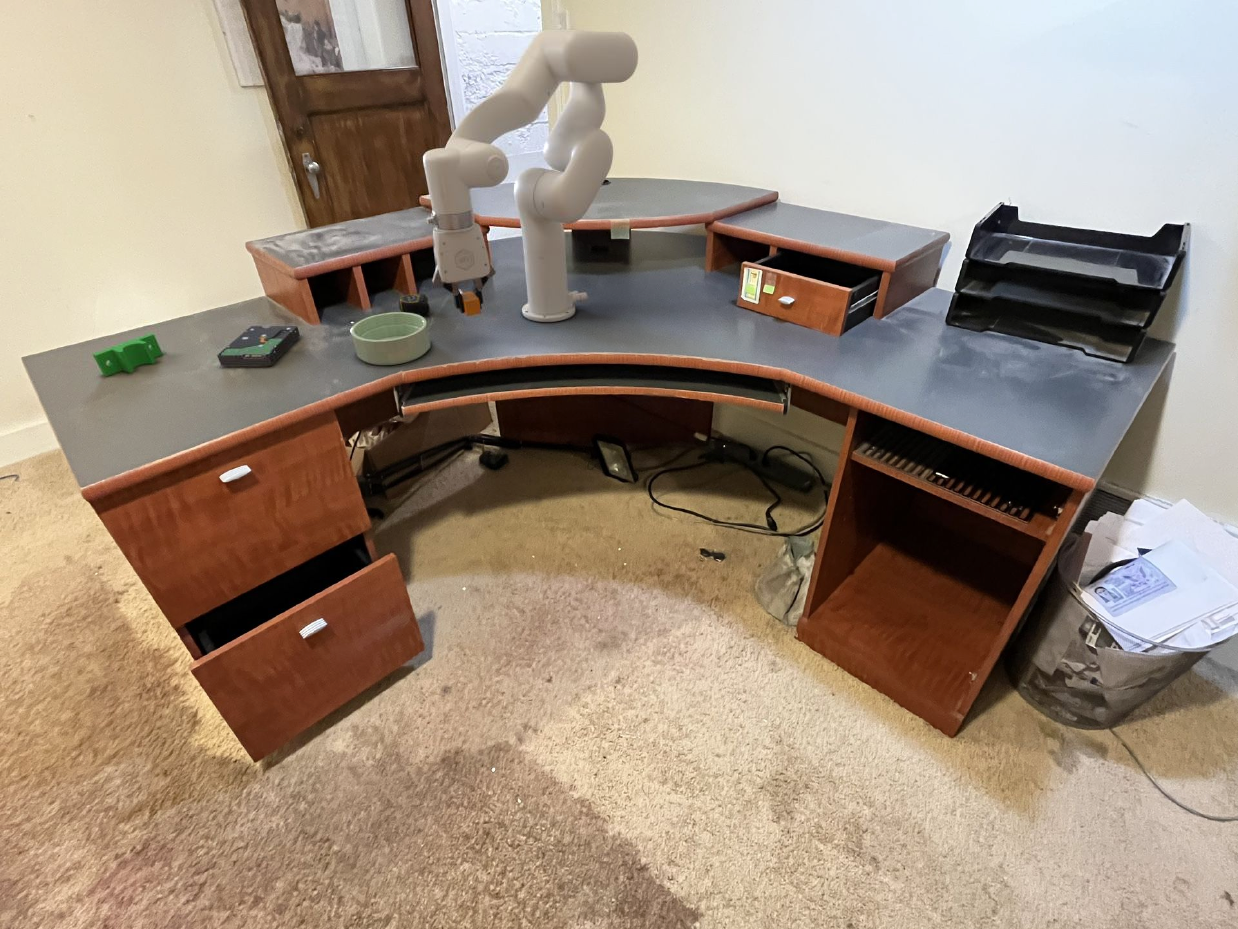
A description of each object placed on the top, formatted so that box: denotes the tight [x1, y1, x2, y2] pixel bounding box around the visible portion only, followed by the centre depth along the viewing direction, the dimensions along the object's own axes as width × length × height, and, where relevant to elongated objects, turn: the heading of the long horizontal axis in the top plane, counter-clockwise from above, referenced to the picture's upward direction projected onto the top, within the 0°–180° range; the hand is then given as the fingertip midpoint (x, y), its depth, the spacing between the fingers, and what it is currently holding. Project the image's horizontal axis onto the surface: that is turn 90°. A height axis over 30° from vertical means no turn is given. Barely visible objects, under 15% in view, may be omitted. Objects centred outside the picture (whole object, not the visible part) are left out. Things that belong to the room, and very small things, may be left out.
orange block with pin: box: [459, 288, 482, 317], centre depth 132 cm, size 12×3×3 cm, turn 27°
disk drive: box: [216, 325, 301, 367], centre depth 130 cm, size 10×3×15 cm
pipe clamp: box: [92, 333, 164, 377], centre depth 124 cm, size 11×4×5 cm, turn 153°
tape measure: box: [398, 293, 430, 316], centre depth 147 cm, size 7×7×4 cm
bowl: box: [349, 311, 432, 366], centre depth 130 cm, size 15×15×6 cm
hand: (470, 308), depth 132 cm, fingers closed on orange block with pin, 3 cm apart
